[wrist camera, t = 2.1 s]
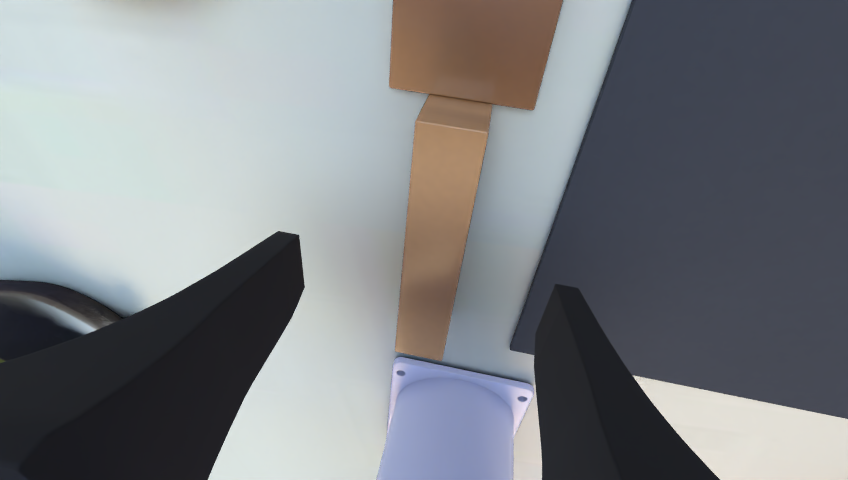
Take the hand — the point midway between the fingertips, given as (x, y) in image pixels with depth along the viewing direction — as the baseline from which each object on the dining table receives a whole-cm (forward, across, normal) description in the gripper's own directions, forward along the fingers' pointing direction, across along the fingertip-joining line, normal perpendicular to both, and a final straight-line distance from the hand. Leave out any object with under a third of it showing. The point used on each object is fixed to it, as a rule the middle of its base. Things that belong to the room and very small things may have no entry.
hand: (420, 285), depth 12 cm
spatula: (+6, 0, -1) cm, 6 cm away
